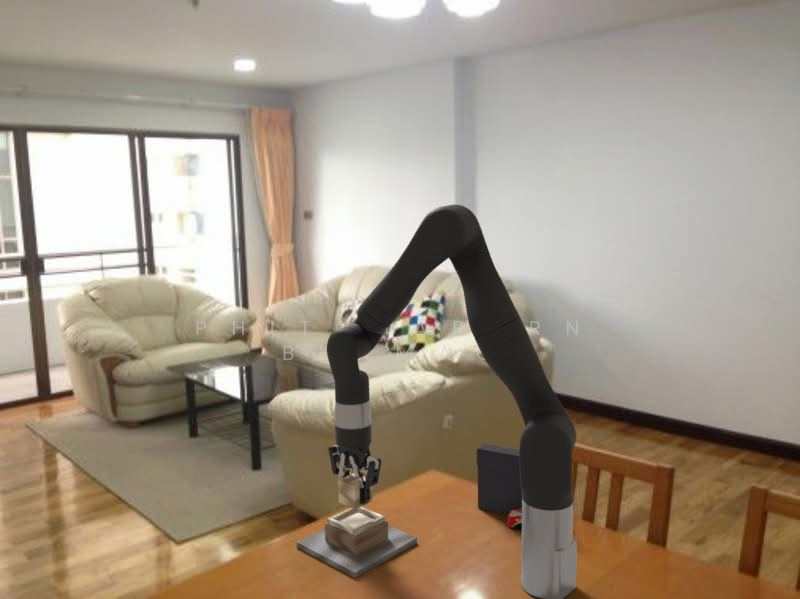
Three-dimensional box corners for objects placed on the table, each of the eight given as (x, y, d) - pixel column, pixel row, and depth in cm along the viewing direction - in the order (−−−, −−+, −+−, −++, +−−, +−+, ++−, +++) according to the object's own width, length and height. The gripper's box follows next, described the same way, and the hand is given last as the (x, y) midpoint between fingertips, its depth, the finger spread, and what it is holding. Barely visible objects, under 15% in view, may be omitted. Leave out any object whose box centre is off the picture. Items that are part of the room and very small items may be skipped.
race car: (568, 525, 155) (569, 508, 154) (568, 537, 149) (568, 519, 149) (508, 518, 158) (509, 502, 157) (506, 530, 153) (506, 513, 152)
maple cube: (372, 501, 146) (371, 478, 145) (355, 509, 142) (354, 486, 141) (356, 494, 149) (355, 472, 148) (338, 502, 146) (338, 479, 145)
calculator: (527, 512, 160) (528, 450, 158) (521, 519, 157) (521, 456, 154) (484, 502, 166) (483, 442, 164) (476, 509, 162) (476, 448, 160)
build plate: (417, 542, 148) (416, 515, 147) (355, 578, 135) (354, 548, 134) (358, 516, 160) (357, 491, 159) (296, 547, 147) (295, 519, 146)
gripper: (390, 424, 141) (392, 503, 143) (343, 409, 150) (345, 484, 153) (364, 434, 135) (366, 516, 138) (316, 418, 145) (319, 495, 148)
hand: (355, 498), depth 146 cm, fingers closed on maple cube, 5 cm apart
